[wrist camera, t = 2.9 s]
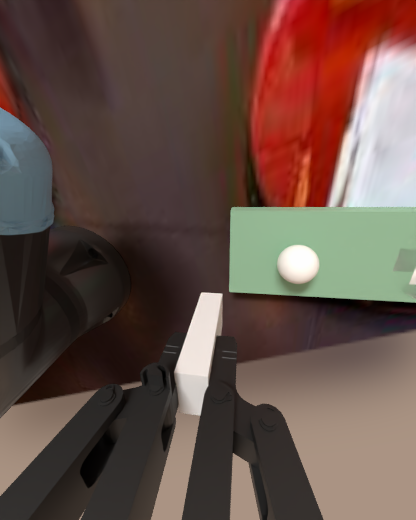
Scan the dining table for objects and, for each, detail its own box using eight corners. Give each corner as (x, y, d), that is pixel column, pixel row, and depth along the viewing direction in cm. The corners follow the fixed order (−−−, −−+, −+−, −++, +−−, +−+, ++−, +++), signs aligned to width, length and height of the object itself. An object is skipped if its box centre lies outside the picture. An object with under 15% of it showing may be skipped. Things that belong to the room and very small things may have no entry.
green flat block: (230, 282, 29) (228, 301, 25) (231, 207, 25) (229, 215, 21) (471, 294, 25) (516, 319, 21) (518, 207, 21) (585, 216, 17)
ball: (272, 272, 25) (278, 290, 21) (276, 239, 23) (282, 252, 20) (309, 273, 24) (321, 292, 21) (315, 240, 23) (329, 254, 19)
